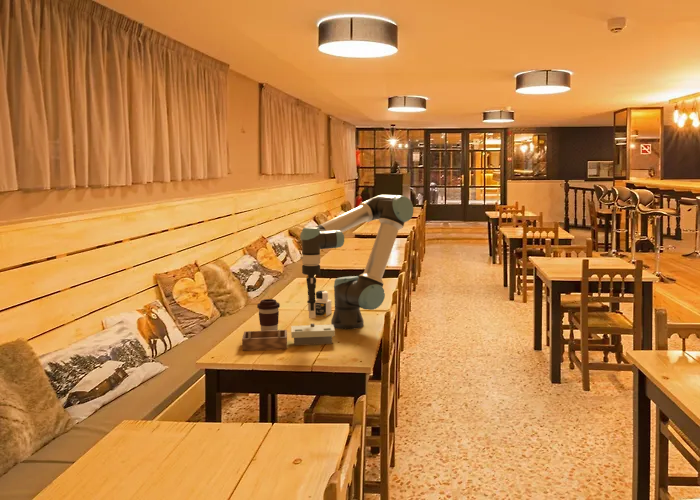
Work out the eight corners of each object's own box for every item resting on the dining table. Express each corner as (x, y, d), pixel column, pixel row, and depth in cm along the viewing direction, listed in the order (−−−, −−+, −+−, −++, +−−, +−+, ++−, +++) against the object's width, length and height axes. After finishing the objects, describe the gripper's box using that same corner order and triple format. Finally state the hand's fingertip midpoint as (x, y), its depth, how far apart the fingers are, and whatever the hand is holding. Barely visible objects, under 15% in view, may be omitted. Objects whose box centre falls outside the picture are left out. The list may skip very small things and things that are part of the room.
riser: (331, 341, 274) (331, 331, 274) (332, 343, 270) (332, 334, 270) (294, 342, 273) (293, 333, 272) (294, 345, 269) (293, 335, 268)
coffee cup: (276, 336, 283) (275, 303, 281) (255, 335, 285) (253, 302, 283) (283, 330, 292) (282, 298, 290) (262, 329, 294) (261, 297, 292)
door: (333, 330, 277) (333, 322, 276) (334, 336, 267) (334, 327, 266) (291, 331, 275) (291, 323, 275) (291, 337, 265) (291, 329, 265)
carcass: (287, 341, 275) (286, 323, 274) (286, 349, 263) (286, 330, 262) (244, 342, 273) (243, 324, 272) (242, 351, 261) (241, 332, 260)
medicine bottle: (313, 315, 320) (312, 292, 319) (319, 312, 327) (318, 289, 325) (326, 316, 317) (325, 293, 316) (331, 313, 324) (331, 290, 322)
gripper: (301, 260, 279) (302, 308, 282) (302, 269, 254) (303, 321, 257) (318, 260, 280) (319, 307, 282) (321, 268, 255) (322, 321, 258)
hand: (311, 314), depth 270 cm, fingers open, 13 cm apart
